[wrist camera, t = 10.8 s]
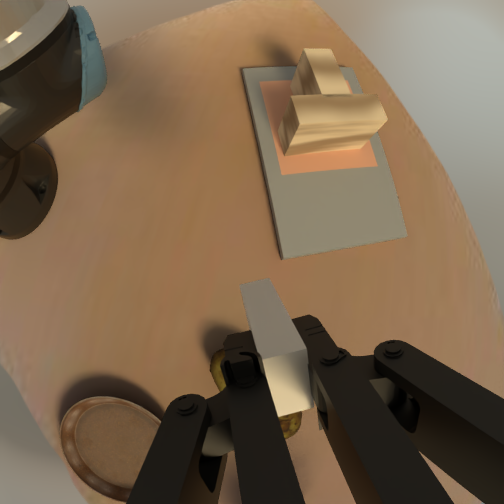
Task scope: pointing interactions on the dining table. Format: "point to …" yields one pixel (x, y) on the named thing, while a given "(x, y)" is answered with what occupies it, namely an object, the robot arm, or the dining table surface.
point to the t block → (326, 109)
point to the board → (320, 178)
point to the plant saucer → (107, 443)
